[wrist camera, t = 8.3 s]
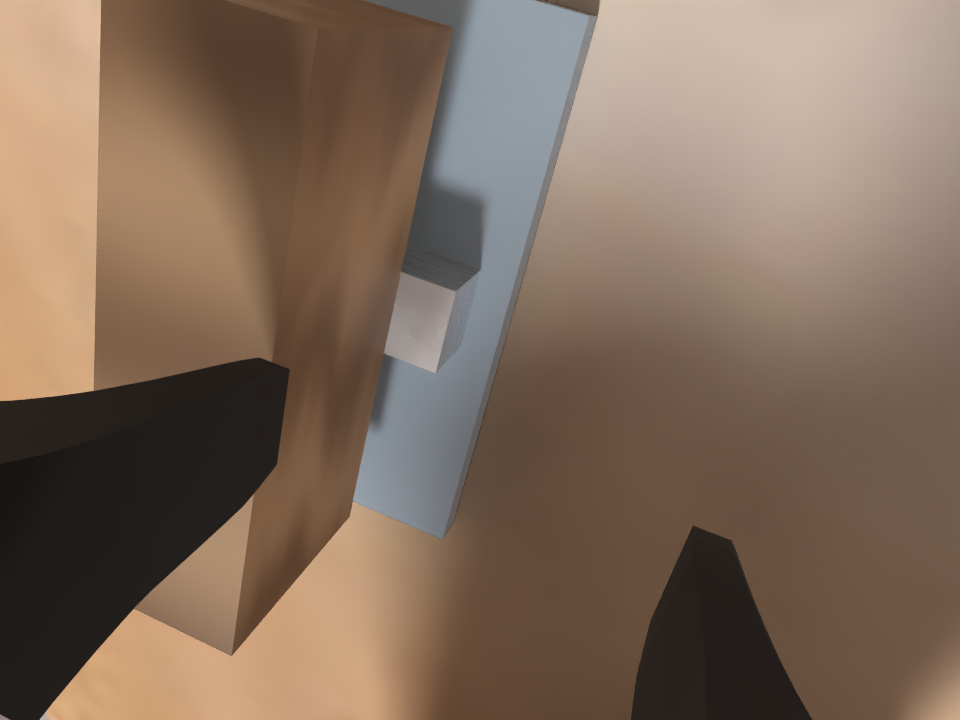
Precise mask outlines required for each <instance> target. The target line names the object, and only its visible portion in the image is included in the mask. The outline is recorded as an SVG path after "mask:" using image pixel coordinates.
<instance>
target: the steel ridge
mask: <svg viewBox="0 0 960 720" xmlns="http://www.w3.org/2000/svg"><path fill="white" fill-rule="evenodd" d="M480 271H481V270H480V269H477V268H474V267H471V266H468V265H466V264H463V263H460V262H457V261H454V260H451V259H449V258H446V257H443V256H440V255H437V254H435V253H432V252H429V251H426V250H423V249H420V248H418V247H415V246H412V245H409V244H407V247H406V251H405V256H404V261H403V266H402V270H401V275H400V280H399V284H398V289H397V294H396V299H395V303H394V308H393V313H392V318H391V322H390V327H389V332H388V337H387V341H386V346H385V351H384V354H387V355H389V356H392V357H395V358H397V359H400V360H402V361H405V362H408V363H410V364H413V365H415V366H418V367H420V368H423V369H426V370H428V371H431V372H433V373H436V372H437V371H438V370H439V369H440V368H441V367H442V366H443V365H444V364H445V363H446V362H447V361H448V360H449V359H450V358H451V357H452V355H453V354H454V353H455V352H456V351H457V350H458V349H459V348H460V347H461V345H462V341H463V337H464V333H465V329H466V325H467V322H468V318H469V314H470V310H471V306H472V302H473V298H474V294H475V291H476V287H477V283H478V279H479V275H480Z"/></svg>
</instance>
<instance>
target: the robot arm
mask: <svg viewBox="0 0 960 720" xmlns="http://www.w3.org/2000/svg"><path fill="white" fill-rule="evenodd" d="M289 372H290V369H288V368H285V367H283V366H280V365H278V364H275V363H273V362H270V361H267V360H265V359H262V358H252V359H245V360H240V361H235V362H230V363H225V364H220V365H216V366H211V367H207V368H203V369H198V370H194V371H189V372H185V373H180V374H176V375H172V376H167V377H163V378H158V379H154V380H149V381H144V382H139V383H133V384H128V385H122V386H117V387H112V388H106V389H101V390H96V391H90V392H84V393H77V394H70V395H62V396H54V397H45V398H35V399H26V400H14V401H0V720H40V718H41V717H42V716H43V714H44V713H45V712H46V711H47V709H48V708H49V707H50V706H51V704H52V703H53V702H54V701H55V699H56V698H57V697H58V696H59V695H60V693H61V692H62V691H63V690H64V689H65V687H66V686H67V685H68V684H69V683H70V681H71V680H72V679H73V678H74V677H75V675H76V674H77V673H78V672H79V671H80V669H81V668H82V667H83V666H84V665H85V663H86V662H87V661H88V660H89V659H90V658H91V656H92V655H93V654H94V653H95V652H96V650H97V649H98V648H99V647H100V646H101V645H102V644H103V643H104V641H105V640H106V639H107V638H108V637H109V636H110V635H111V634H112V632H113V631H114V630H115V629H116V628H117V627H118V626H119V625H120V623H121V622H122V621H123V620H124V619H125V618H126V617H127V615H128V614H129V613H130V612H131V611H132V610H133V609H134V608H135V607H136V606H137V605H138V604H139V603H140V602H141V601H142V600H143V599H144V598H145V597H146V596H147V595H148V594H149V593H150V592H151V591H152V590H153V589H154V588H155V587H156V586H157V585H158V584H159V583H161V582H162V581H163V580H164V579H165V578H166V577H167V576H168V575H169V574H170V573H171V572H173V571H174V570H175V569H176V568H177V567H178V566H179V565H180V564H181V563H182V562H184V561H185V560H186V559H187V558H188V557H189V556H190V555H191V554H192V553H193V552H195V551H196V550H197V549H198V548H199V547H200V546H201V545H202V544H203V543H204V542H205V541H207V540H208V539H209V538H210V537H211V536H212V535H213V534H214V533H215V532H216V531H217V530H219V529H220V528H221V527H222V526H223V525H224V524H225V523H226V522H227V521H228V520H229V519H230V518H231V517H232V516H234V515H235V514H236V513H237V512H238V511H239V510H240V509H241V508H242V507H243V506H244V505H245V504H246V502H247V501H248V500H249V499H250V498H251V497H252V495H253V494H254V493H255V492H256V491H257V489H258V488H259V487H260V486H261V484H262V483H263V482H264V481H265V479H266V478H267V477H268V476H269V474H270V473H271V472H272V470H273V469H274V468H275V467H276V465H277V461H278V454H279V447H280V439H281V432H282V424H283V417H284V409H285V402H286V395H287V387H288V380H289ZM631 720H812V718H811V717H810V715H809V714H808V712H807V710H806V708H805V707H804V705H803V703H802V701H801V700H800V698H799V696H798V694H797V693H796V691H795V689H794V687H793V685H792V683H791V681H790V679H789V677H788V675H787V673H786V671H785V669H784V667H783V665H782V663H781V661H780V659H779V657H778V655H777V653H776V651H775V648H774V646H773V644H772V641H771V639H770V637H769V635H768V632H767V630H766V628H765V625H764V623H763V621H762V619H761V616H760V614H759V611H758V609H757V606H756V604H755V601H754V599H753V596H752V594H751V591H750V588H749V586H748V583H747V580H746V578H745V575H744V572H743V569H742V566H741V564H740V561H739V558H738V555H737V552H736V549H735V547H734V545H733V543H732V541H731V540H729V539H726V538H723V537H721V536H718V535H716V534H713V533H711V532H708V531H705V530H703V529H700V528H698V527H695V526H693V527H692V529H691V531H690V534H689V536H688V538H687V540H686V543H685V545H684V547H683V549H682V552H681V554H680V556H679V558H678V560H677V563H676V565H675V567H674V569H673V572H672V574H671V576H670V578H669V581H668V583H667V585H666V587H665V590H664V592H663V594H662V596H661V599H660V601H659V603H658V605H657V608H656V610H655V612H654V614H653V617H652V619H651V622H650V625H649V629H648V633H647V637H646V641H645V645H644V649H643V653H642V657H641V661H640V665H639V669H638V673H637V678H636V685H635V693H634V701H633V709H632V717H631Z"/></svg>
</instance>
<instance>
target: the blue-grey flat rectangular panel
mask: <svg viewBox="0 0 960 720" xmlns="http://www.w3.org/2000/svg"><path fill="white" fill-rule="evenodd" d="M363 1H367V2H370V3H373V4H377V5H380V6H383V7H387V8H390V9H394V10H397V11H400V12H404V13H407V14H410V15H414V16H417V17H420V18H424V19H427V20H430V21H434V22H437V23H440V24H444V25H447V26H450V27H453V29H452V33H451V38H450V43H449V48H448V52H447V57H446V62H445V67H444V71H443V76H442V81H441V85H440V90H439V95H438V100H437V104H436V109H435V114H434V119H433V123H432V128H431V133H430V138H429V142H428V147H427V152H426V157H425V161H424V166H423V171H422V175H421V180H420V185H419V190H418V194H417V199H416V204H415V209H414V213H413V218H412V223H411V228H410V232H409V237H408V242H407V244H409V245H412V246H415V247H418V248H420V249H423V250H426V251H429V252H432V253H435V254H437V255H440V256H443V257H446V258H449V259H451V260H454V261H457V262H460V263H463V264H466V265H468V266H471V267H474V268H477V269H480V270H481V271H480V275H479V279H478V283H477V287H476V291H475V294H474V298H473V302H472V306H471V310H470V314H469V318H468V322H467V325H466V329H465V333H464V337H463V341H462V345H461V347H460V348H459V349H458V350H457V351H456V352H455V353H454V354H453V355H452V357H451V358H450V359H449V360H448V361H447V362H446V363H445V364H444V365H443V366H442V367H441V368H440V369H439V370H438V371H437V372H436V373H433V372H431V371H428V370H426V369H423V368H420V367H418V366H415V365H413V364H410V363H408V362H405V361H402V360H400V359H397V358H395V357H392V356H389V355H387V354H384V356H383V360H382V365H381V370H380V375H379V379H378V384H377V389H376V393H375V398H374V403H373V408H372V412H371V417H370V422H369V427H368V431H367V436H366V441H365V446H364V450H363V455H362V460H361V465H360V469H359V474H358V479H357V484H356V488H355V493H354V498H353V502H355V503H358V504H360V505H362V506H365V507H367V508H369V509H372V510H374V511H376V512H379V513H381V514H383V515H386V516H388V517H390V518H393V519H395V520H397V521H400V522H402V523H404V524H407V525H409V526H411V527H414V528H416V529H418V530H421V531H423V532H425V533H428V534H430V535H432V536H435V537H437V538H439V539H442V540H443V538H444V536H445V535H446V533H447V532H448V530H449V528H450V527H451V525H452V524H453V521H454V518H455V514H456V511H457V507H458V504H459V500H460V497H461V493H462V490H463V486H464V483H465V479H466V476H467V472H468V469H469V465H470V462H471V458H472V455H473V451H474V448H475V444H476V441H477V437H478V434H479V430H480V427H481V423H482V420H483V416H484V413H485V409H486V406H487V402H488V399H489V395H490V392H491V388H492V385H493V381H494V378H495V374H496V371H497V367H498V364H499V360H500V357H501V353H502V350H503V346H504V343H505V339H506V336H507V332H508V329H509V325H510V322H511V318H512V315H513V311H514V307H515V304H516V300H517V297H518V293H519V290H520V286H521V283H522V279H523V276H524V272H525V269H526V265H527V262H528V258H529V255H530V251H531V248H532V244H533V241H534V237H535V234H536V230H537V227H538V223H539V220H540V216H541V213H542V209H543V206H544V202H545V199H546V195H547V192H548V188H549V185H550V181H551V178H552V174H553V171H554V167H555V164H556V160H557V157H558V153H559V150H560V146H561V143H562V139H563V136H564V132H565V129H566V125H567V122H568V118H569V115H570V111H571V108H572V104H573V101H574V97H575V94H576V90H577V87H578V83H579V80H580V76H581V73H582V69H583V66H584V62H585V59H586V55H587V52H588V48H589V45H590V41H591V38H592V34H593V31H594V27H595V24H596V20H597V17H598V16H594V15H591V14H587V13H584V12H580V11H577V10H573V9H570V8H566V7H562V6H559V5H555V4H552V3H548V2H545V1H541V0H363Z"/></svg>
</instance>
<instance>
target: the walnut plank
mask: <svg viewBox="0 0 960 720" xmlns="http://www.w3.org/2000/svg"><path fill="white" fill-rule="evenodd" d="M452 29H453V27H450V26H447V25H444V24H440V23H437V22H434V21H430V20H427V19H424V18H420V17H417V16H414V15H410V14H407V13H404V12H400V11H397V10H394V9H390V8H387V7H383V6H380V5H377V4H373V3H370V2H367V1H363V0H101V43H100V95H99V148H98V201H97V254H96V307H95V360H94V391H96V390H101V389H106V388H112V387H117V386H122V385H128V384H133V383H139V382H144V381H149V380H154V379H158V378H163V377H167V376H172V375H176V374H180V373H185V372H189V371H194V370H198V369H203V368H207V367H211V366H216V365H220V364H225V363H230V362H235V361H240V360H245V359H252V358H262V359H265V360H267V361H270V362H273V363H275V364H278V365H280V366H283V367H285V368H288V369H290V372H289V380H288V387H287V395H286V402H285V409H284V417H283V424H282V432H281V439H280V447H279V454H278V461H277V465H276V467H275V468H274V469H273V470H272V472H271V473H270V474H269V476H268V477H267V478H266V479H265V481H264V482H263V483H262V484H261V486H260V487H259V488H258V489H257V491H256V492H255V493H254V494H253V495H252V497H251V498H250V499H249V500H248V501H247V502H246V504H245V505H244V506H243V507H242V508H241V509H240V510H239V511H238V512H237V513H236V514H235V515H234V516H232V517H231V518H230V519H229V520H228V521H227V522H226V523H225V524H224V525H223V526H222V527H221V528H220V529H219V530H217V531H216V532H215V533H214V534H213V535H212V536H211V537H210V538H209V539H208V540H207V541H205V542H204V543H203V544H202V545H201V546H200V547H199V548H198V549H197V550H196V551H195V552H193V553H192V554H191V555H190V556H189V557H188V558H187V559H186V560H185V561H184V562H182V563H181V564H180V565H179V566H178V567H177V568H176V569H175V570H174V571H173V572H171V573H170V574H169V575H168V576H167V577H166V578H165V579H164V580H163V581H162V582H161V583H159V584H158V585H157V586H156V587H155V588H154V589H153V590H152V591H151V592H150V593H149V594H148V595H147V596H146V597H145V598H144V599H143V600H142V601H141V602H140V603H139V604H138V605H137V606H136V607H135V608H134V609H136V610H138V611H140V612H142V613H144V614H146V615H148V616H150V617H152V618H154V619H156V620H158V621H160V622H163V623H165V624H167V625H169V626H171V627H173V628H175V629H177V630H179V631H181V632H183V633H185V634H187V635H189V636H191V637H193V638H195V639H197V640H199V641H202V642H204V643H206V644H208V645H210V646H212V647H214V648H216V649H218V650H220V651H222V652H224V653H226V654H228V655H230V656H232V655H233V654H234V653H235V651H236V650H237V649H238V648H239V647H240V646H241V644H242V643H243V642H244V641H245V640H246V638H247V637H248V636H249V635H250V634H251V633H252V631H253V630H254V629H255V628H256V627H257V625H258V624H259V623H260V622H261V621H262V619H263V618H264V617H265V616H266V615H267V614H268V612H269V611H270V610H271V609H272V608H273V606H274V605H275V604H276V603H277V602H278V601H279V599H280V598H281V597H282V596H283V595H284V593H285V592H286V591H287V590H288V589H289V588H290V586H291V585H292V584H293V583H294V582H295V580H296V579H297V578H298V577H299V576H300V575H301V573H302V572H303V571H304V570H305V569H306V567H307V566H308V565H309V564H310V563H311V562H312V560H313V559H314V558H315V557H316V556H317V554H318V553H319V552H320V551H321V550H322V548H323V547H324V546H325V545H326V544H327V543H328V541H329V540H330V539H331V538H332V537H333V535H334V534H335V533H336V532H337V531H338V530H339V528H340V527H341V526H342V525H343V524H344V522H345V521H346V520H347V519H348V518H349V517H350V512H351V507H352V502H353V498H354V493H355V488H356V484H357V479H358V474H359V469H360V465H361V460H362V455H363V450H364V446H365V441H366V436H367V431H368V427H369V422H370V417H371V412H372V408H373V403H374V398H375V393H376V389H377V384H378V379H379V375H380V370H381V365H382V360H383V356H384V351H385V346H386V341H387V337H388V332H389V327H390V322H391V318H392V313H393V308H394V303H395V299H396V294H397V289H398V284H399V280H400V275H401V270H402V266H403V261H404V256H405V251H406V247H407V242H408V237H409V232H410V228H411V223H412V218H413V213H414V209H415V204H416V199H417V194H418V190H419V185H420V180H421V175H422V171H423V166H424V161H425V157H426V152H427V147H428V142H429V138H430V133H431V128H432V123H433V119H434V114H435V109H436V104H437V100H438V95H439V90H440V85H441V81H442V76H443V71H444V67H445V62H446V57H447V52H448V48H449V43H450V38H451V33H452Z"/></svg>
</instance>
